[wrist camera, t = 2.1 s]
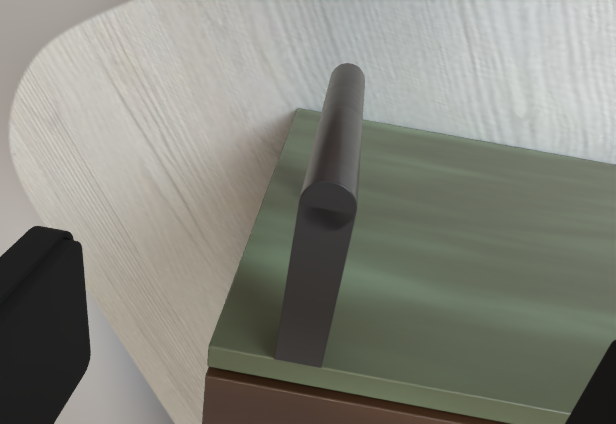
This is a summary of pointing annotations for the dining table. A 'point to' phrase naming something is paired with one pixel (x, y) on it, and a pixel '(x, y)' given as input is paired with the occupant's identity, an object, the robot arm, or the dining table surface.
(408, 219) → the cabinet door
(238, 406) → the cabinet
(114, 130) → the dining table surface
